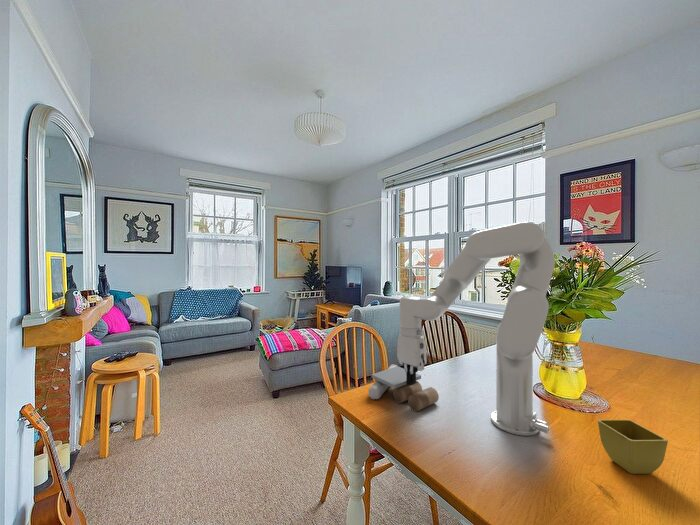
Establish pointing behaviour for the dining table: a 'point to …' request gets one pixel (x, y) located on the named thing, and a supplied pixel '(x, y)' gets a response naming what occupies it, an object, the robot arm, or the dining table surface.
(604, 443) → the flower pot
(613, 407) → the dining table surface
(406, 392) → the rollers
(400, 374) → the slab
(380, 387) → the tube
